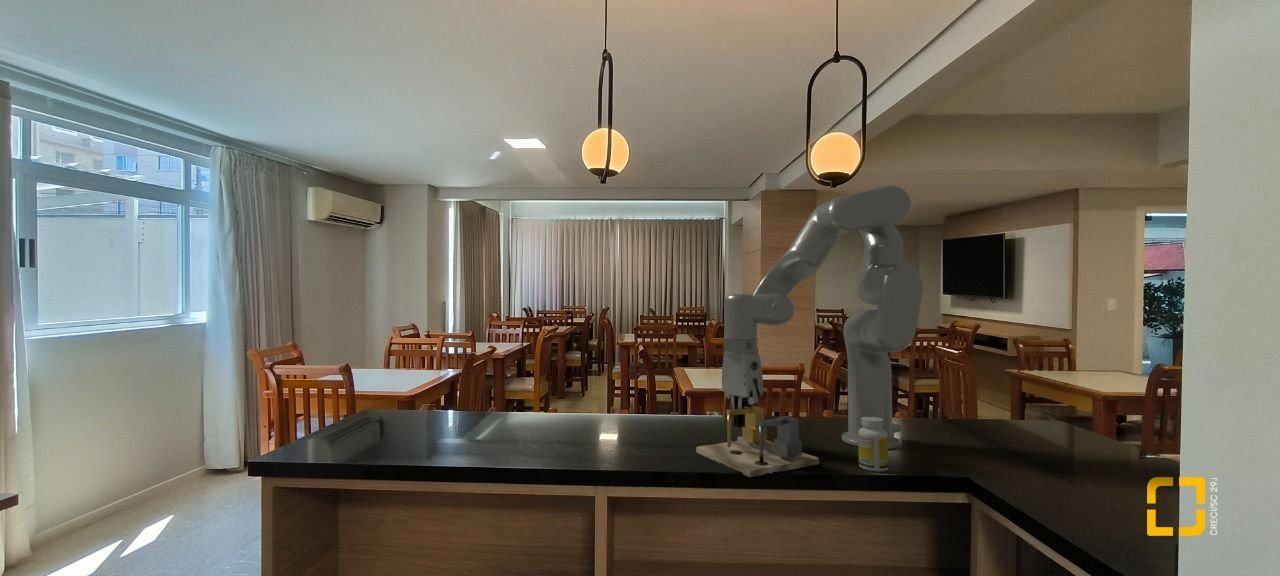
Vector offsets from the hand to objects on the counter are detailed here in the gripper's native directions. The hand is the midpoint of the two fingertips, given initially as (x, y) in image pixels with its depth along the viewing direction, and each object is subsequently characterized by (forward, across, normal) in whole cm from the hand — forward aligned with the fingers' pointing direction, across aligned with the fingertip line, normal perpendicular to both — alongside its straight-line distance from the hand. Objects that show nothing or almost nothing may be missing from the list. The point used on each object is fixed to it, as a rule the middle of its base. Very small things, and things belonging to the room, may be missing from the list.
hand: (741, 426), depth 113 cm
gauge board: (+4, -9, +3) cm, 10 cm away
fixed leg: (+3, -15, +3) cm, 16 cm away
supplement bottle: (+5, -24, -14) cm, 28 cm away
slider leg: (+3, -5, +3) cm, 6 cm away
